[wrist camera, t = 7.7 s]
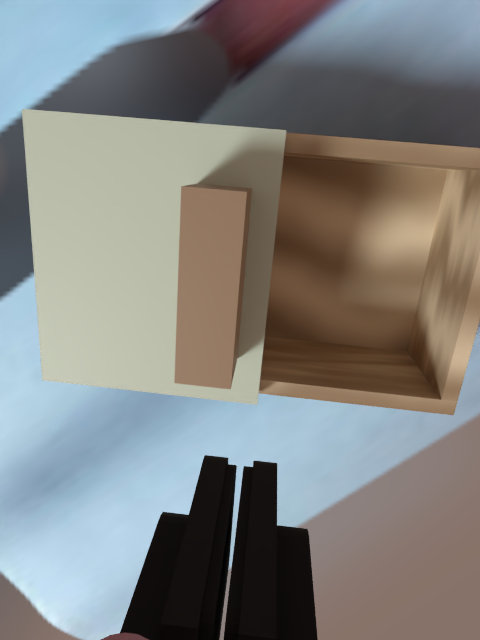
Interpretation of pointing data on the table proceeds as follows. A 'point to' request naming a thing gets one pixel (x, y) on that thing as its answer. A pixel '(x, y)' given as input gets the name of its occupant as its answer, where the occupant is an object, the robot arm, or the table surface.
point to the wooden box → (374, 273)
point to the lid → (152, 251)
